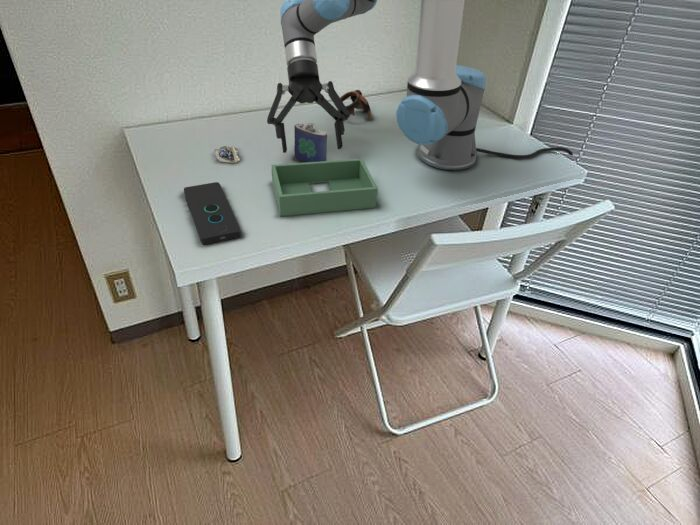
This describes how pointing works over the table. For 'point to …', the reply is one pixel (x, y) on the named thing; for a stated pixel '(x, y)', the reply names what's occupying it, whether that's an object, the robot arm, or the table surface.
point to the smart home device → (211, 213)
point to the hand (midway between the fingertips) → (312, 149)
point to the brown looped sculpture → (357, 102)
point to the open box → (346, 191)
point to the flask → (310, 143)
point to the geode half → (227, 154)
